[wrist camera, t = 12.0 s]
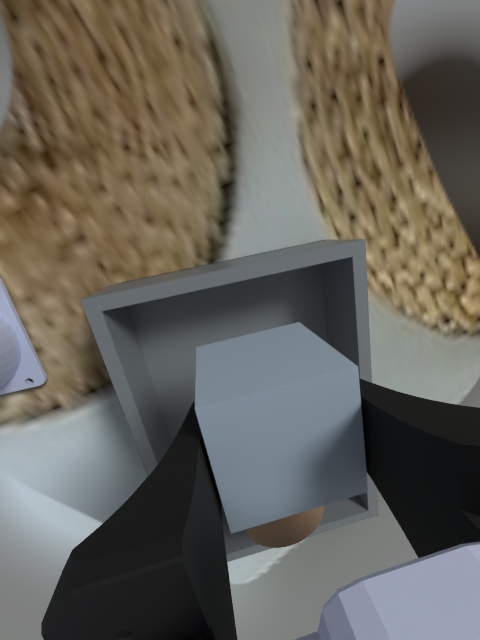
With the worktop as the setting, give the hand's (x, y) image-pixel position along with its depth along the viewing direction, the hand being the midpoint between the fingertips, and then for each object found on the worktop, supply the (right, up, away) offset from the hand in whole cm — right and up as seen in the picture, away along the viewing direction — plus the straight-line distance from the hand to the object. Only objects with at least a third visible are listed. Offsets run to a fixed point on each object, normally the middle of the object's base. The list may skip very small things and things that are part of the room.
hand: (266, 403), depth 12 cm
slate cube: (0, +1, +1) cm, 2 cm away
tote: (0, -2, +10) cm, 11 cm away
